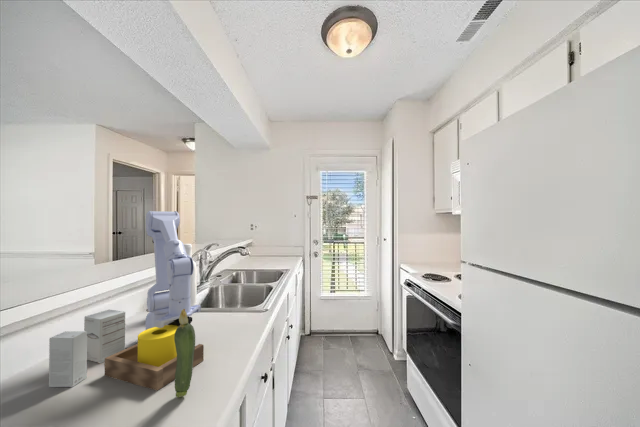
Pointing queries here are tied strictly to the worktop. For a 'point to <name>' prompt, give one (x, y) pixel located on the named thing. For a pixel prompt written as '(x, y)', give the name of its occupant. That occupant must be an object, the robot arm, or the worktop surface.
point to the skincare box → (67, 358)
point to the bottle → (192, 276)
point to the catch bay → (144, 368)
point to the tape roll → (157, 345)
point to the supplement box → (104, 334)
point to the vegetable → (184, 354)
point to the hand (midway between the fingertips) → (180, 342)
